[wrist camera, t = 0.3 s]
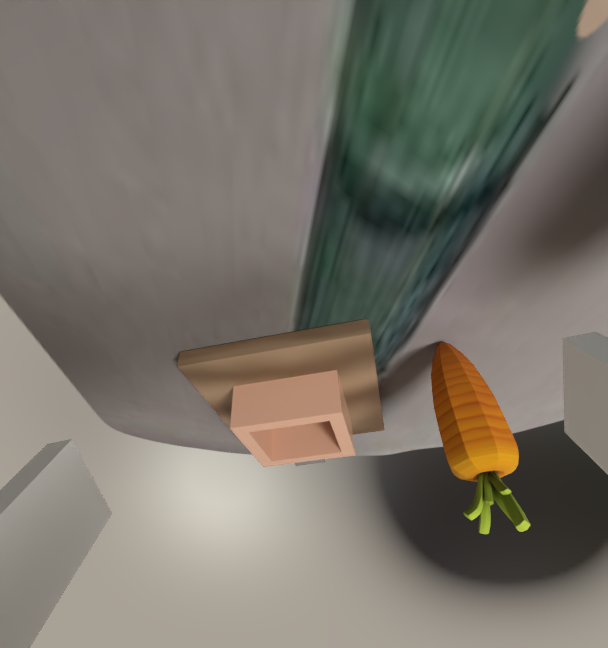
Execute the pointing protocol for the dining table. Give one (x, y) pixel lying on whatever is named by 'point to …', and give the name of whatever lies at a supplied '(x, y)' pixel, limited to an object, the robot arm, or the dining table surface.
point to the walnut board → (292, 367)
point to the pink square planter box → (293, 419)
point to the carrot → (474, 435)
